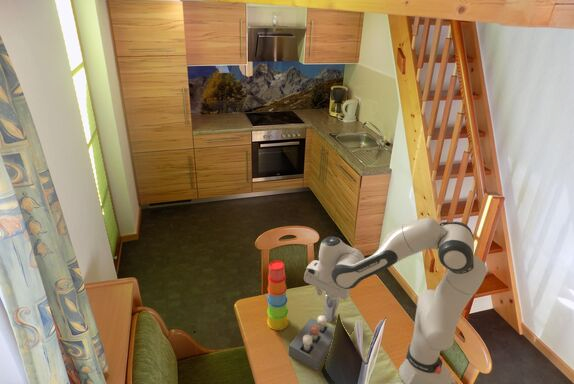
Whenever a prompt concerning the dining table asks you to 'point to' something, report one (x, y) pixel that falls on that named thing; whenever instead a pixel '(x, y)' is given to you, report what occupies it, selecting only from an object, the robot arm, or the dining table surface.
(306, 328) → the console
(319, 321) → the knob
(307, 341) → the knob
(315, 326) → the knob mid
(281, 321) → the stacking cups
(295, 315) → the dining table surface
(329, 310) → the beer glass
